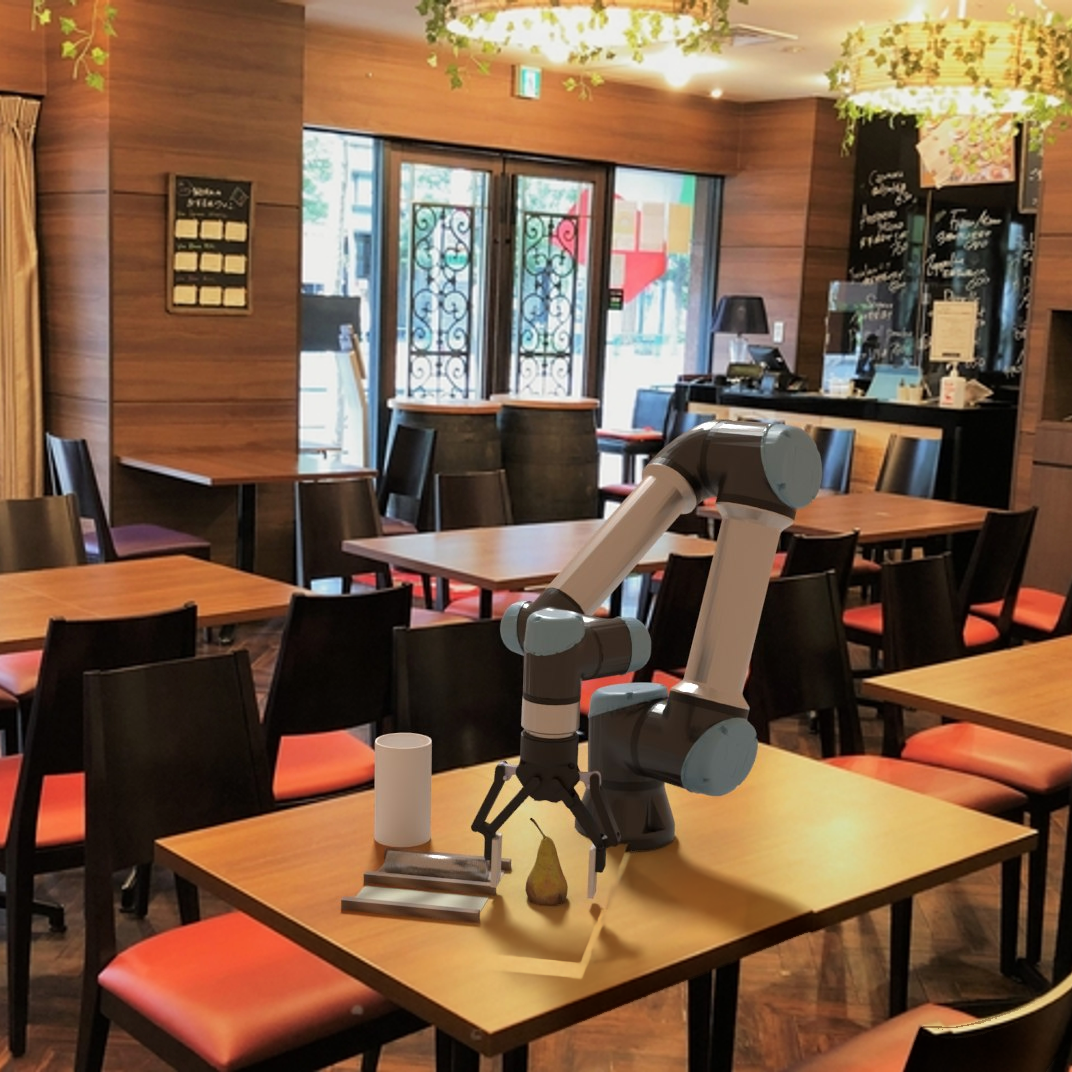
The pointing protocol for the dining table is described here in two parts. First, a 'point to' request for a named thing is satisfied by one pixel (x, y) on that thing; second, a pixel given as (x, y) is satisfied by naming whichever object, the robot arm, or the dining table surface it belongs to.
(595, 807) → the robot arm
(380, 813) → the cup
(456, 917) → the rack
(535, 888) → the fruit
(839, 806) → the dining table surface
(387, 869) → the rod
